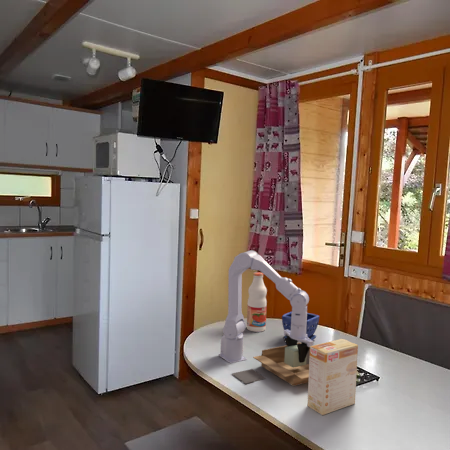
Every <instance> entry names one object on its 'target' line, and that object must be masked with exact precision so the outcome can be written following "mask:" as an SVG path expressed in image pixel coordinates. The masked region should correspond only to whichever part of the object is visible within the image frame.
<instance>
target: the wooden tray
mask: <svg viewBox="0 0 450 450" xmlns="http://www.w3.org/2000/svg"><path fill="white" fill-rule="evenodd" d="M297 344H301V343H297ZM285 347H287V344H286V345H280V346H276V347H272V348H267V349H262V350H261V355H256V356H253V359H254V360H257V361H258V362H260V364H261V367H262V368H264V369H265V370H267V371H269V372H270V373H272V374H274V375H275V376H277V377H278V378H280V379H281V380H283V381H285V382H286V383H288V384H289V385H291V386H293V387H295V386H299V385H302V384H306V383H308V381H309V364H307V365H302V366H298V367H294V368H293V367H291V366H289V365H287V364H286V363H284V359H285Z"/></svg>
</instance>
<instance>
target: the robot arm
mask: <svg viewBox="0 0 450 450" xmlns="http://www.w3.org/2000/svg"><path fill="white" fill-rule="evenodd" d="M249 269H250V270H252V271H253V270H254V271H260V273H263V275H265V276H266V277H267V278H268V279H269V280H271V281H272V282H273V283H274V284H275V288H276V290H277V291H278V292H279V293H281V295H283V296H284V297H285V298H286V299H287V300H289V303H290V305H291V312H292V316H291V330H284V329H283V336H286V335H287V338H284V343H285V344H286V345H287V347H289V346H294V345H297V347H298V351H299V362H300V363H302V362H305V359H306V356H307V353H308V351H309V349H310V346H314V340H311V339H309V338H308V337H307V336H308V335H307V334H306V325H307V313H308V304H309V301H310V297H309V294H308V293H307V292H306V291H305V290H302V289H301V288H300V287H298V286H296V284H294V283H293V280H292V279H291V278H288V277H286V276H285V277H283V276H281V275H280V274H279V273H278V271H276V270H275V269H274V268H273V267H272V266H271V265H270V264H269V263H268V262H267V261H266V260H265V259H264V258H263V256H261V255H260V254H258V252H257V251H255V250H253V249H251V250H247V251H245V252H240V253H239V254H238V255H236V256H234V259H233V261H232V263H231V265H229V268H228V290H227V292H228V296H227V298H228V299H227V300H228V304H227V305H228V308H227V309H228V310H227V316H226V318H225V321H224V322H225V323H224V325H223V328H222V333H223V335H222V336H221V338H220V353H218V356H219V357H220V358H222V359H223V360H225V361H227V363H229V364H233V363H238V362H242V361H247V360H248V358H247V357H245V356H243V355H244V353H243V352H244V332H245V330H246V329H247V323H246V322H245V318H244V315H243V312H242V311H243V310H242V309H243V307H242V300H243V296H242V294H243V291H242V289H243V286H242V284H243V276H242V275H243V273H245V272H246V271H247V270H249ZM298 341H299V342H301V344H297V342H298Z"/></svg>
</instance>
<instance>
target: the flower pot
mask: <svg viewBox="0 0 450 450" xmlns="http://www.w3.org/2000/svg"><path fill="white" fill-rule="evenodd" d="M291 316H292V311H290V312H287V313H284V314H283V315H282V316H281V321H282V323H281V324H282V328H283V331H284V330H291ZM319 321H320V315H318V314H315V313H309V312H307V325H306V334H307V335H308V336H307V337H308V338H309V339H311V340H312V341H314V340H315V339H316V338H317V335H315V333H316V330H317V328H318V325H319ZM283 338H284V339H285V338H287V335H286V336H285V335H283Z"/></svg>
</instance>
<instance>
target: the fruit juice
mask: <svg viewBox="0 0 450 450" xmlns="http://www.w3.org/2000/svg"><path fill="white" fill-rule="evenodd" d="M252 276H253V279H252V282H251V284H250V286H249V287H248V298H247V306H246V307H247V308H246V310H247V311H246V329H247V330H248V331H250V332H255V333H258V332H259V333H260V332H264V331H266V328H267V327H266V325H267V303H268V301H267V292H268V289H267V287H266V285H265V283H264V279H263V278H264V274H263V273H262V272H261V271H260V272H258V271H256V272H253V273H252Z"/></svg>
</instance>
